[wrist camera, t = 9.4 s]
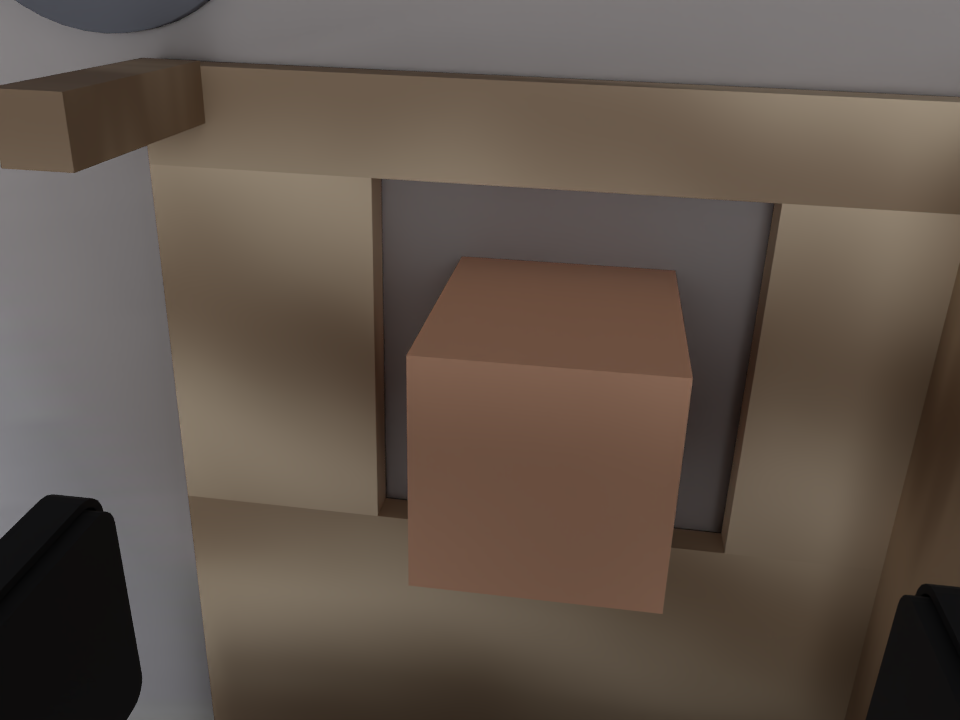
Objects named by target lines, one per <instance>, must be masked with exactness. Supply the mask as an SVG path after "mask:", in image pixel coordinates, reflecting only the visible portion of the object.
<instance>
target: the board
mask: <svg viewBox="0 0 960 720" xmlns="http://www.w3.org/2000/svg"><path fill="white" fill-rule="evenodd" d="M144 146H147V147H148V156H149V164H150V173H151V181H152V190H153V199H154V207H155V216H156V224H157V233H158V241H159V250H160V258H161V267H162V276H163V284H164V293H165V301H166V310H167V318H168V327H169V336H170V344H171V353H172V361H173V370H174V378H175V387H176V396H177V404H178V413H179V421H180V430H181V438H182V447H183V455H184V464H185V473H186V481H187V490H188V498H189V507H190V515H191V524H192V533H193V541H194V550H195V558H196V567H197V575H198V584H199V593H200V601H201V610H202V618H203V627H204V635H205V644H206V652H207V661H208V670H209V678H210V687H211V695H212V704H213V712H214V720H866V716H867V712H868V709H869V705H870V702H871V698H872V695H873V691H874V687H875V684H876V680H877V677H878V673H879V670H880V666H881V663H882V659H883V655H884V652H885V648H886V645H887V641H888V638H889V634H890V630H891V627H892V623H893V620H894V616H895V613H896V609H897V606H898V603H899V600H900V598H901V597H902V596H903V595H915V594H916V592H917V589H918V588H919V587H920V586H921V585H922V584H936V585H945V586H955V587H960V97H947V96H925V95H904V94H883V93H862V92H841V91H820V90H798V89H777V88H756V87H735V86H714V85H693V84H671V83H650V82H629V81H608V80H587V79H565V78H544V77H523V76H502V75H481V74H460V73H438V72H417V71H396V70H375V69H354V68H333V67H311V66H290V65H269V64H248V63H227V62H206V61H196V60H175V59H154V58H139V59H134V60H129V61H123V62H118V63H113V64H108V65H103V66H98V67H92V68H87V69H82V70H77V71H72V72H67V73H61V74H56V75H51V76H46V77H41V78H36V79H30V80H25V81H20V82H15V83H10V84H5V85H0V162H1V168H5V169H20V170H36V171H51V172H67V173H75V172H78V171H81V170H83V169H86V168H89V167H91V166H94V165H96V164H99V163H102V162H104V161H107V160H110V159H112V158H115V157H118V156H120V155H123V154H126V153H128V152H131V151H133V150H136V149H139V148H141V147H144ZM381 179H394V180H410V181H426V182H442V183H458V184H474V185H491V186H507V187H523V188H539V189H555V190H571V191H587V192H603V193H619V194H636V195H652V196H668V197H684V198H700V199H716V200H732V201H748V202H764V203H775V204H774V210H773V216H772V222H771V229H770V235H769V241H768V247H767V253H766V259H765V266H764V272H763V278H762V284H761V290H760V297H759V303H758V309H757V315H756V321H755V327H754V334H753V340H752V346H751V352H750V358H749V364H748V371H747V377H746V383H745V389H744V395H743V402H742V408H741V414H740V420H739V426H738V432H737V439H736V445H735V451H734V457H733V463H732V470H731V476H730V482H729V488H728V494H727V500H726V507H725V513H724V519H723V525H722V531H721V533H713V532H703V531H694V530H684V529H675V528H674V529H673V537H672V545H671V552H670V560H669V568H668V576H667V583H666V591H665V599H664V607H663V614H658V613H649V612H640V611H631V610H622V609H614V608H605V607H596V606H587V605H578V604H569V603H560V602H551V601H542V600H533V599H525V598H516V597H507V596H498V595H489V594H480V593H471V592H462V591H453V590H444V589H436V588H427V587H418V586H409V585H408V500H400V499H390V498H386V475H385V407H384V338H383V270H382V202H381Z"/></svg>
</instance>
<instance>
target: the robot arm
mask: <svg viewBox="0 0 960 720" xmlns="http://www.w3.org/2000/svg"><path fill="white" fill-rule="evenodd" d="M141 686H142V672H141V667H140V661H139V655H138V650H137V644H136V638H135V633H134V627H133V621H132V616H131V610H130V605H129V599H128V593H127V588H126V582H125V576H124V571H123V565H122V559H121V554H120V548H119V542H118V537H117V531H116V525H115V521H114V518H113V516H112V515H111V513H108V512H103V508H102V506H101V504H100V503H99V502H98V500H95V499H93V498H83V497H73V496H63V495H53V494H52V495H47V496H45V497H44V498H42V499H41V500H40V501H39V502H38V503H37V504H36V505H35V506H34V507H32V508H31V509H30V510H29V511H28V512H27V513H26V514H25V515H24V516H23V517H22V518H21V519H20V520H19V521H18V522H17V523H16V524H15V525H14V526H13V527H12V528H11V529H10V530H9V531H8V532H7V533H6V534H5V535H4V536H3V537H2V538H1V539H0V720H127V718H128V717H129V715H130V714H131V712H132V710H133V709H134V707H135V705H136V703H137V701H138V698H139V695H140V691H141ZM866 720H960V587H955V586H945V585H936V584H922V585H921V586H920V587H919V588H918V589H917V592H916V594H915V595H903V596H902V597H901V598H900V600H899V603H898V606H897V609H896V613H895V616H894V620H893V623H892V627H891V630H890V634H889V638H888V641H887V645H886V648H885V652H884V655H883V659H882V663H881V666H880V670H879V673H878V677H877V680H876V684H875V687H874V691H873V695H872V698H871V702H870V705H869V709H868V712H867V716H866Z"/></svg>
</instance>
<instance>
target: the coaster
mask: <svg viewBox="0 0 960 720" xmlns="http://www.w3.org/2000/svg"><path fill="white" fill-rule="evenodd" d="M16 1H17V2H18V3H20V4H21V5H23V6H25V7H26V8H28V9H30V10H32V11H34V12H35V13H37V14H39V15H41V16H43V17H45V18H48V19H50V20H52V21H55V22H57V23H60V24H62V25H65V26H69V27H73V28H77V29H81V30H85V31H92V32H101V33H128V32H135V31H141V30H147V29H152V28H158V27H161V26H163V25H166V24H169V23H172V22H175V21H178V20H179V19H181V18H183V17H185V16H187V15H189V14H191V13H192V12H194V11H196V10H197V9H199V8H200V7H201V6H203V5H204V4H205V3H207V2H208V1H209V0H16Z"/></svg>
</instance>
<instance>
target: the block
mask: <svg viewBox="0 0 960 720" xmlns="http://www.w3.org/2000/svg"><path fill="white" fill-rule="evenodd" d="M406 377H407V481H408V585H409V586H418V587H427V588H436V589H444V590H453V591H462V592H471V593H480V594H489V595H498V596H507V597H516V598H525V599H533V600H542V601H551V602H560V603H569V604H578V605H587V606H596V607H605V608H614V609H622V610H631V611H640V612H649V613H658V614H663V607H664V599H665V591H666V583H667V576H668V568H669V560H670V552H671V545H672V537H673V529H674V521H675V514H676V506H677V498H678V490H679V483H680V475H681V467H682V459H683V452H684V444H685V436H686V428H687V421H688V413H689V405H690V397H691V390H692V382H693V376H692V370H691V364H690V357H689V351H688V345H687V339H686V333H685V327H684V321H683V315H682V309H681V303H680V296H679V290H678V284H677V278H676V272H675V271H674V270H659V269H643V268H628V267H613V266H598V265H583V264H568V263H553V262H538V261H523V260H507V259H492V258H477V257H461V259H460V261H459V263H458V264H457V266H456V268H455V270H454V271H453V273H452V275H451V277H450V279H449V280H448V282H447V284H446V286H445V287H444V289H443V291H442V293H441V295H440V296H439V298H438V300H437V302H436V303H435V305H434V307H433V309H432V311H431V312H430V314H429V316H428V318H427V320H426V321H425V323H424V325H423V327H422V328H421V330H420V332H419V334H418V336H417V337H416V339H415V341H414V343H413V344H412V346H411V348H410V350H409V352H408V353H407V355H406Z"/></svg>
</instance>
